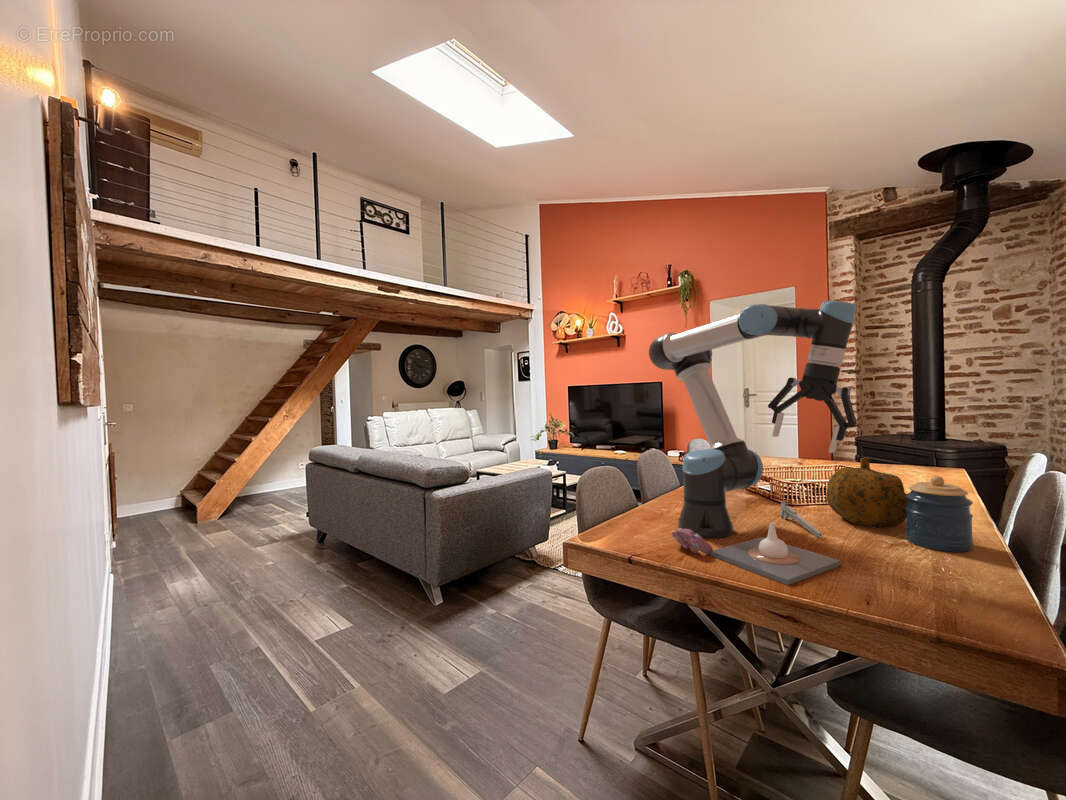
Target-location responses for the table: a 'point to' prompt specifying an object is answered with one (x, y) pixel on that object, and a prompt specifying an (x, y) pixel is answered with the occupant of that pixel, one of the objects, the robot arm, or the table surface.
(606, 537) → the table surface
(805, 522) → the caliper
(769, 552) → the garlic bulb
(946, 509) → the canister
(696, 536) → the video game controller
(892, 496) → the decorative pumpkin
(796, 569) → the slate board
